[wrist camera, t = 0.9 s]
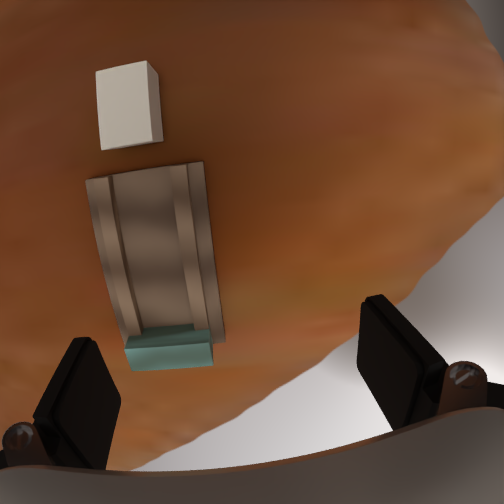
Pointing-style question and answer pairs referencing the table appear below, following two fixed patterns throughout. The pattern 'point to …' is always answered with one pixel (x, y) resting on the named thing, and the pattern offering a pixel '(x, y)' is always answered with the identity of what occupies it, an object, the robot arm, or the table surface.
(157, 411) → the table surface
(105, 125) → the cream block
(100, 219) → the channel board
